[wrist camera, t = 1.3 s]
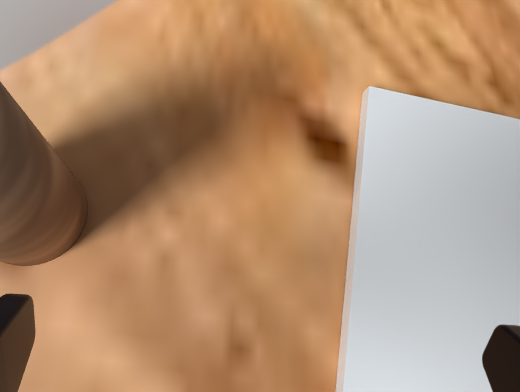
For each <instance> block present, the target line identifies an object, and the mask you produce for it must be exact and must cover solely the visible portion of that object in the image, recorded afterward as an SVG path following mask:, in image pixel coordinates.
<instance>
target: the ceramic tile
mask: <svg viewBox="0 0 520 392" xmlns="http://www.w3.org/2000/svg"><path fill="white" fill-rule="evenodd" d="M501 324H506V325H518V326H520V119H517V118H512V117H508V116H503V115H499V114H494V113H490V112H485V111H480V110H476V109H471V108H467V107H462V106H458V105H453V104H449V103H444V102H440V101H435V100H430V99H426V98H421V97H417V96H412V95H408V94H403V93H399V92H394V91H390V90H385V89H381V88H376V87H371V86H369V87H368V88H367V89H366V90H365V92H364V93H363V94H362V104H361V115H360V126H359V137H358V149H357V160H356V171H355V182H354V193H353V204H352V215H351V226H350V238H349V249H348V260H347V271H346V282H345V293H344V304H343V316H342V327H341V338H340V349H339V360H338V371H337V382H336V392H493V391H492V389H491V386H490V384H489V381H488V378H487V376H486V373H485V370H484V368H483V364H482V354H483V352H484V349H485V347H486V345H487V343H488V341H489V339H490V337H491V335H492V333H493V331H494V329H495V328H496V327H497V326H498V325H501Z"/></svg>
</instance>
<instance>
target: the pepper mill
mask: <svg viewBox="0 0 520 392" xmlns="http://www.w3.org/2000/svg"><path fill="white" fill-rule="evenodd" d="M87 208H88V207H87V199H86V195H85V192H84V190H83V188H82V186H81V184H80V183H79V181H78V180H77V179H76V178H75V176H74V175H73V174H72V172H71V171H70V170H69V169H68V167H67V166H66V165H65V164H64V162H63V161H62V160H61V158H60V157H59V156H58V155H57V153H56V152H55V151H54V149H53V148H52V147H51V146H50V144H49V143H48V142H47V141H46V139H45V138H44V137H43V135H42V134H41V133H40V132H39V130H38V129H37V128H36V127H35V125H34V124H33V123H32V121H31V120H30V119H29V118H28V116H27V115H26V114H25V112H24V111H23V110H22V109H21V107H20V106H19V105H18V104H17V102H16V101H15V100H14V98H13V97H12V96H11V95H10V93H9V92H8V91H7V90H6V88H5V87H4V86H3V84H2V83H1V82H0V261H1V262H4V263H8V264H12V265H19V266H32V265H38V264H42V263H46V262H48V261H51V260H53V259H55V258H57V257H59V256H60V255H62V254H63V253H64V252H66V251H67V250H68V249H69V248H70V247H71V246H72V245H73V244H74V243H75V242H76V241H77V239H78V238H79V236H80V235H81V233H82V230H83V228H84V226H85V223H86V218H87Z"/></svg>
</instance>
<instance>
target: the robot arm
mask: <svg viewBox="0 0 520 392" xmlns="http://www.w3.org/2000/svg"><path fill="white" fill-rule="evenodd" d="M34 340H35V319H34V305H33V300H32V297H31V296H29V295H24V294H5V295H3V296H1V297H0V392H18V389H19V386H20V383H21V380H22V377H23V374H24V371H25V368H26V365H27V362H28V359H29V356H30V353H31V350H32V347H33V344H34ZM482 364H483V368H484V370H485V373H486V376H487V378H488V381H489V384H490V386H491V389H492V391H493V392H520V326H518V325H506V324H501V325H498V326H497V327H496V328H495V329H494V331H493V333H492V335H491V337H490V339H489V341H488V343H487V345H486V347H485V349H484V352H483V354H482Z"/></svg>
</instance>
